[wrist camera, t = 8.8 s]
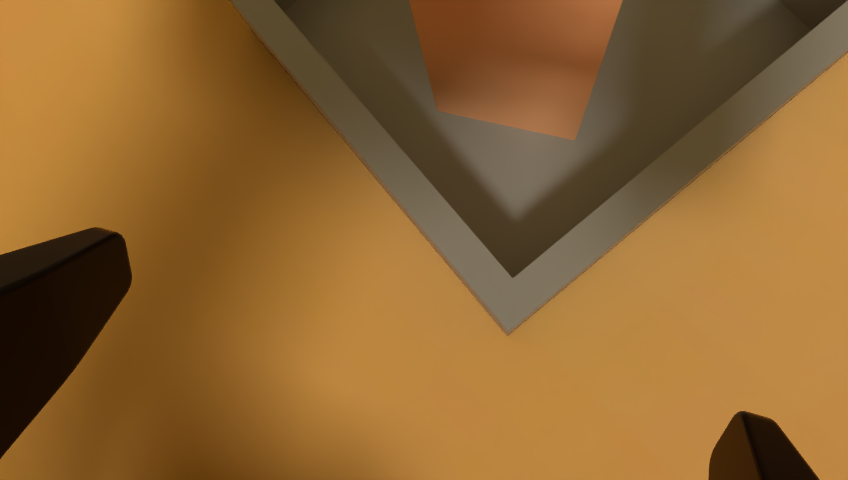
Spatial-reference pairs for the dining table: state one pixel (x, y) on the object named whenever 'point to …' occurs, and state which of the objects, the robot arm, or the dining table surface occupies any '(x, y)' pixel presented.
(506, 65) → the block
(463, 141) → the tray
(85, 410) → the dining table surface
